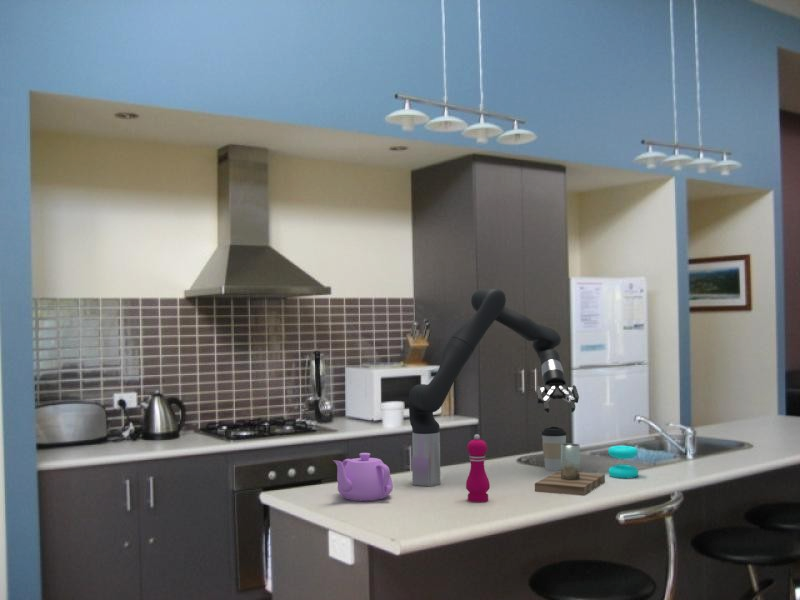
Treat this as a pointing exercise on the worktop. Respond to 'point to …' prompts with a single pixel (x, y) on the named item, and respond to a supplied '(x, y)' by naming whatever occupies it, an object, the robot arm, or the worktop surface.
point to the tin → (570, 461)
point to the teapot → (363, 478)
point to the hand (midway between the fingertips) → (560, 410)
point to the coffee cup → (553, 447)
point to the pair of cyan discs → (623, 453)
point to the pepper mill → (477, 471)
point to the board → (570, 484)
